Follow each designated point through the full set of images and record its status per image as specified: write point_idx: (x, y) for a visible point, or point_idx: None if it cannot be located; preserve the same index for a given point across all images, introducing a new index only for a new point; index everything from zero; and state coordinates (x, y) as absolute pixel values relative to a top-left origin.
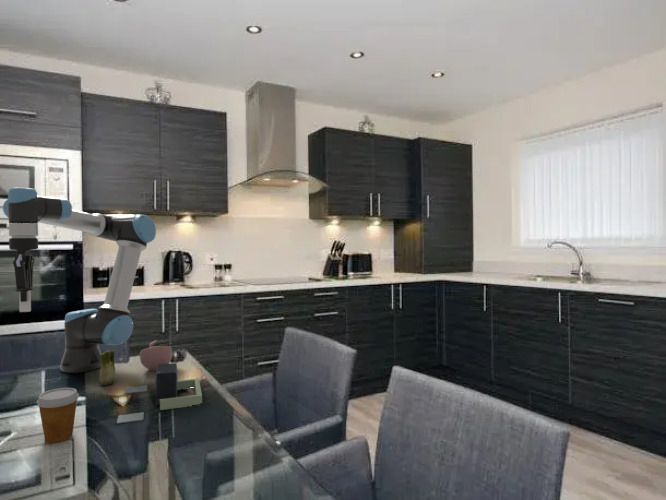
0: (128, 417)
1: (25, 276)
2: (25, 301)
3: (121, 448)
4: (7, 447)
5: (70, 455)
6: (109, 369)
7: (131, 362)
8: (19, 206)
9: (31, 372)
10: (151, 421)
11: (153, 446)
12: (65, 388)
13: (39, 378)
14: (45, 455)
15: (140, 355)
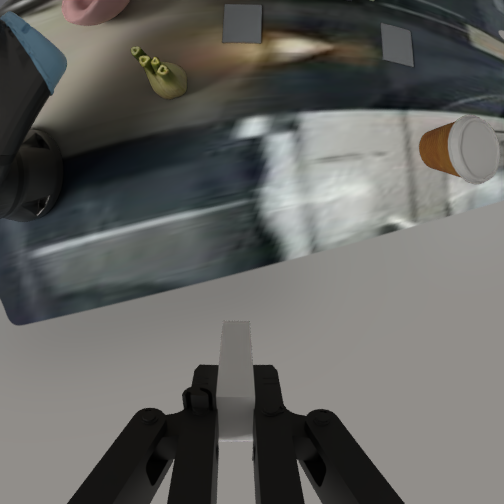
0: (397, 47)
1: (367, 495)
2: (272, 368)
3: (480, 77)
4: (437, 217)
5: None
6: (171, 67)
7: None
8: None
9: (41, 275)
10: (414, 22)
11: (481, 45)
12: (460, 136)
13: (80, 249)
14: None
15: (98, 15)
